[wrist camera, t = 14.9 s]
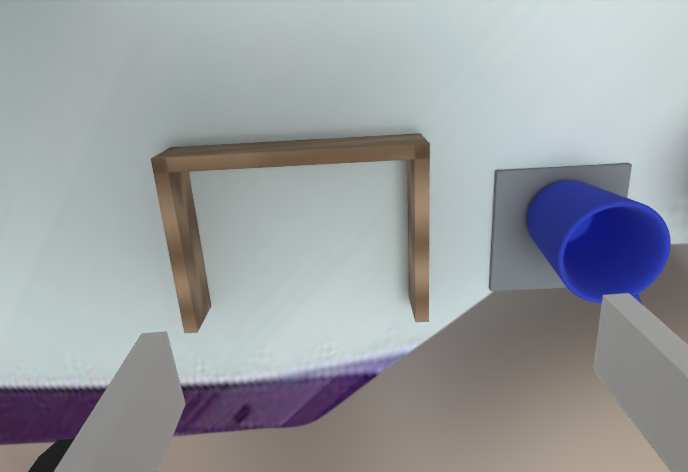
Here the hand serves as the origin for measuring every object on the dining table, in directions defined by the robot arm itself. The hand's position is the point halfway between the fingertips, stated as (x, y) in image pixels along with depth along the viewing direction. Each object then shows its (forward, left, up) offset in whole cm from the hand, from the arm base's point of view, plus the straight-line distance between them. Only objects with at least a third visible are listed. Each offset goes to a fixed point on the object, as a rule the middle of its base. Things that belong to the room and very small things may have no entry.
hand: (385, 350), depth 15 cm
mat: (+8, +18, -32) cm, 38 cm away
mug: (+8, +19, -31) cm, 38 cm away
